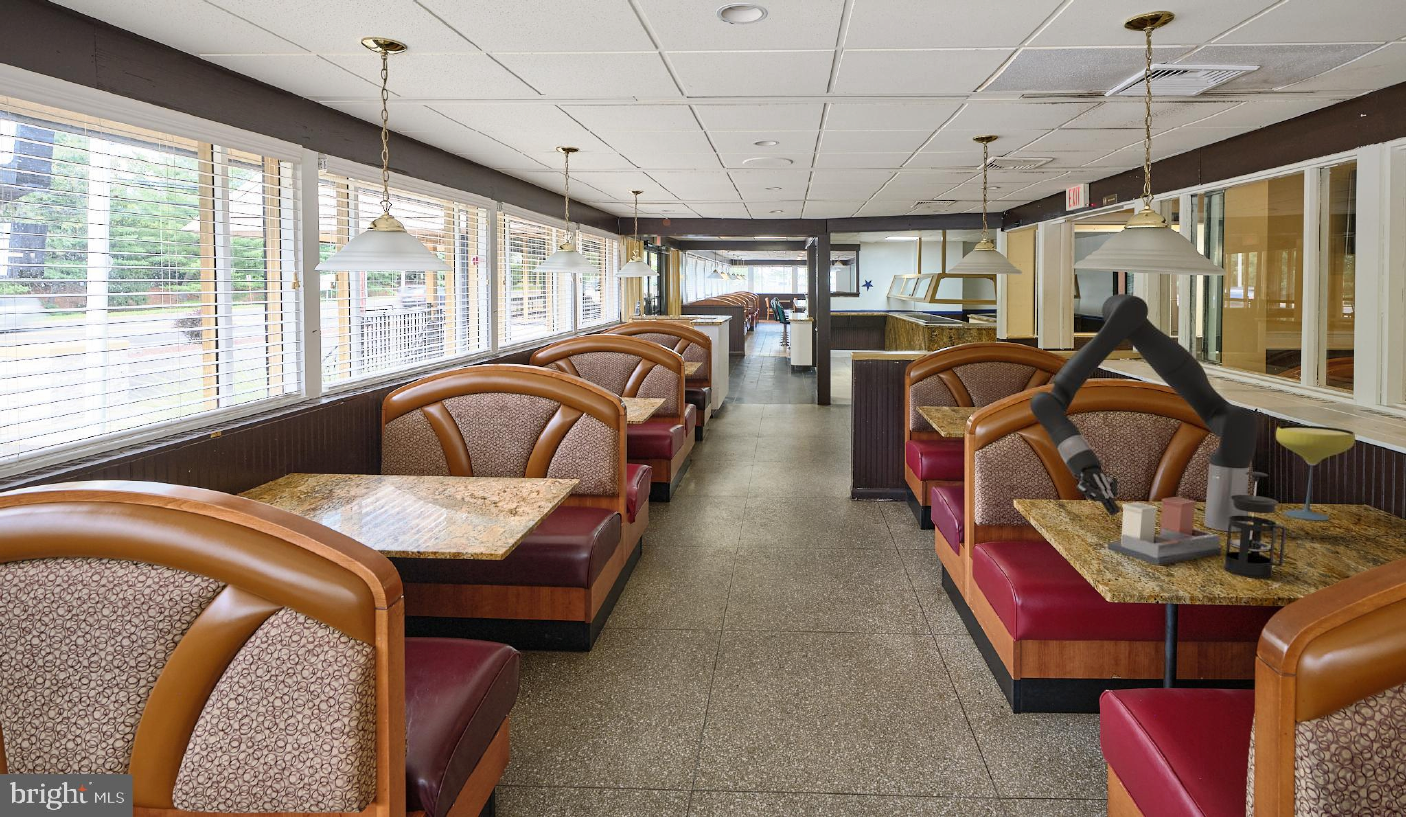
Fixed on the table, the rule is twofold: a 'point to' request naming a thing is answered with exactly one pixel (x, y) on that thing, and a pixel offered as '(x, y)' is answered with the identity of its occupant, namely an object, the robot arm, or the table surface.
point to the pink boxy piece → (1178, 515)
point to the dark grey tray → (1169, 546)
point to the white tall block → (1139, 521)
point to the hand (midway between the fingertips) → (1115, 513)
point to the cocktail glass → (1313, 453)
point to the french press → (1252, 536)
